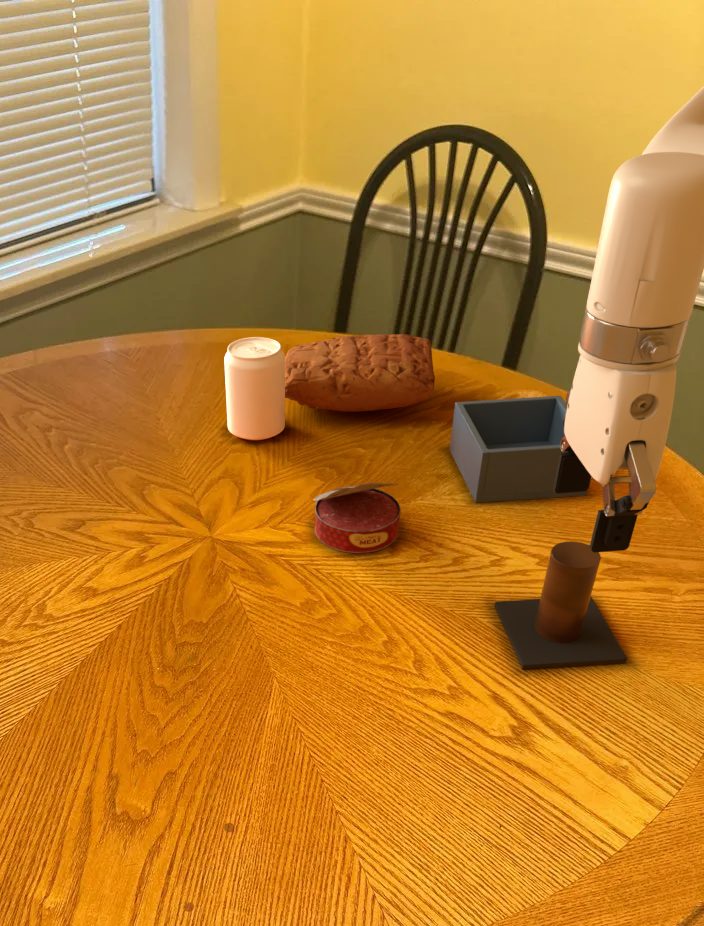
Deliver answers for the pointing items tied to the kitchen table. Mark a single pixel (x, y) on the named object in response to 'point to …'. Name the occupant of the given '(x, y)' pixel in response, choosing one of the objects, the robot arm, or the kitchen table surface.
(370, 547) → the canned food
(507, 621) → the mat
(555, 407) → the bin
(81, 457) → the kitchen table surface
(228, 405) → the beverage can
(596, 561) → the brown cylinder
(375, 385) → the inscribed clay slab
